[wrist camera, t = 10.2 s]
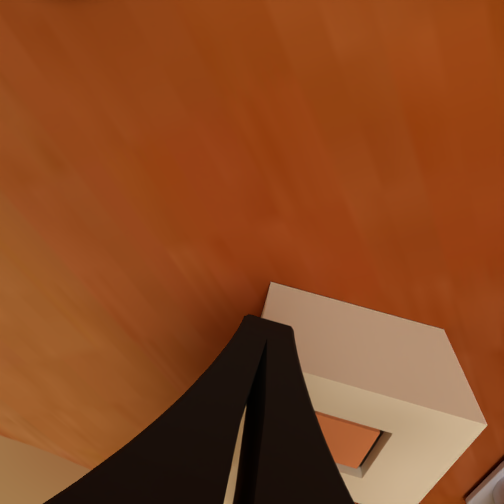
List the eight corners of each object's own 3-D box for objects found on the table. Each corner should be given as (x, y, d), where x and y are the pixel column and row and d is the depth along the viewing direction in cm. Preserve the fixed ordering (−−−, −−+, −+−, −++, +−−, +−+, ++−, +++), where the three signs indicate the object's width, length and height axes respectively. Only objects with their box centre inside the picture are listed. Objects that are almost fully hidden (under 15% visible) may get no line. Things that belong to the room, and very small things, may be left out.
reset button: (374, 397, 18) (380, 433, 16) (353, 432, 19) (356, 468, 18) (316, 380, 18) (315, 414, 16) (300, 416, 19) (298, 451, 18)
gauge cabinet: (450, 331, 20) (497, 427, 14) (393, 419, 24) (413, 519, 18) (270, 281, 20) (253, 357, 15) (243, 375, 24) (222, 461, 19)
